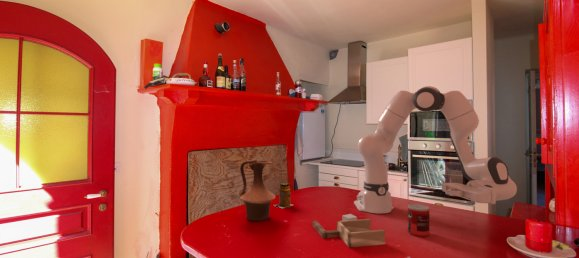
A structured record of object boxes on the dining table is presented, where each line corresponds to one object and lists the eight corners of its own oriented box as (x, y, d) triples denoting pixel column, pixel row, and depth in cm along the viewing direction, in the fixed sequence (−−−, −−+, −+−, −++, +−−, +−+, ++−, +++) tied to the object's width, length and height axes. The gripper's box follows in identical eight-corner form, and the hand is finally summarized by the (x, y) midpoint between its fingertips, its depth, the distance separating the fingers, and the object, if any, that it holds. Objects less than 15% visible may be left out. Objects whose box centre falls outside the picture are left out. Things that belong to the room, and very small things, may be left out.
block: (342, 225, 122) (342, 215, 122) (350, 223, 124) (350, 213, 123) (348, 229, 118) (348, 218, 118) (357, 227, 119) (357, 216, 119)
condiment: (293, 205, 153) (293, 183, 152) (282, 208, 147) (282, 186, 146) (284, 202, 158) (284, 181, 158) (273, 205, 152) (273, 184, 152)
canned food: (412, 228, 117) (412, 202, 117) (432, 233, 111) (432, 206, 111) (404, 233, 112) (404, 206, 112) (425, 239, 106) (425, 210, 106)
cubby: (337, 233, 113) (336, 221, 113) (369, 230, 115) (369, 218, 115) (348, 247, 100) (348, 233, 100) (385, 244, 102) (384, 230, 102)
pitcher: (236, 224, 124) (235, 162, 124) (241, 212, 141) (240, 157, 141) (275, 223, 125) (274, 161, 124) (276, 211, 142) (275, 157, 141)
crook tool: (312, 225, 122) (312, 221, 122) (327, 224, 124) (327, 219, 124) (322, 238, 108) (322, 233, 108) (339, 236, 110) (339, 231, 110)
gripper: (458, 178, 126) (430, 180, 124) (499, 188, 106) (467, 190, 103) (458, 192, 126) (430, 194, 124) (499, 205, 106) (467, 207, 103)
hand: (447, 192), depth 113 cm, fingers closed
